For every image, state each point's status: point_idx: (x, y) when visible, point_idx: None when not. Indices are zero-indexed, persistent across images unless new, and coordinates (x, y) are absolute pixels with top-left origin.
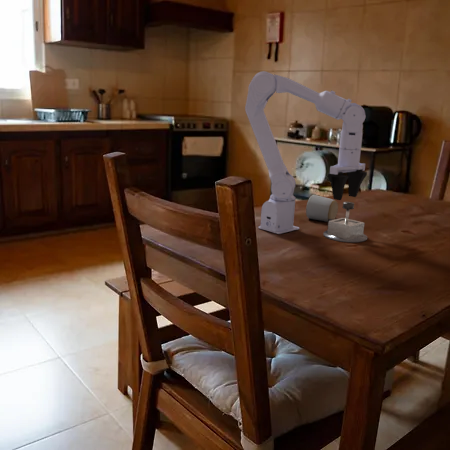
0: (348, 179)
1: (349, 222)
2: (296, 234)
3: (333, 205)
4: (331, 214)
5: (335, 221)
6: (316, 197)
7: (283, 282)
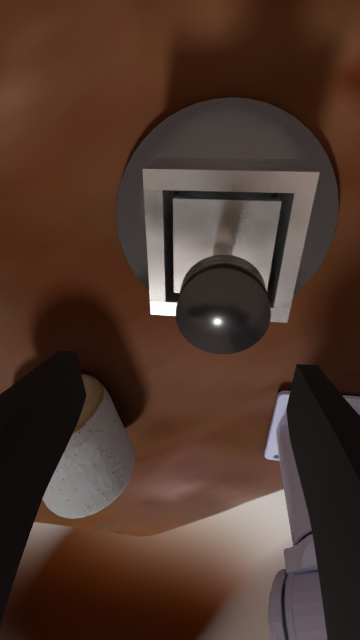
0: (22, 548)
1: (198, 246)
2: (355, 365)
3: None
4: None
5: None
6: (82, 498)
7: None
